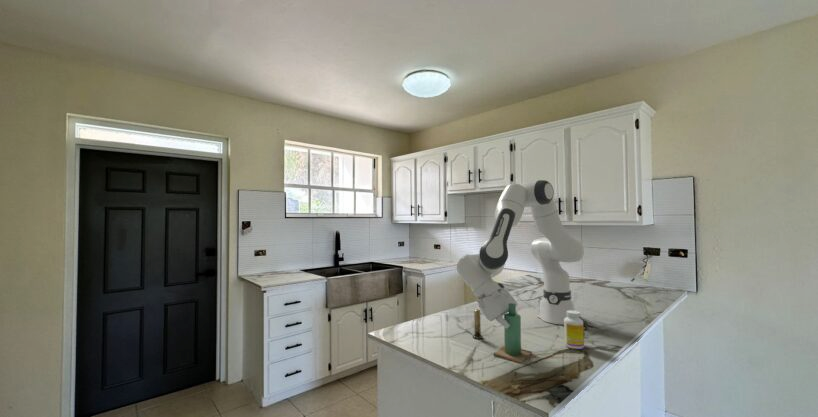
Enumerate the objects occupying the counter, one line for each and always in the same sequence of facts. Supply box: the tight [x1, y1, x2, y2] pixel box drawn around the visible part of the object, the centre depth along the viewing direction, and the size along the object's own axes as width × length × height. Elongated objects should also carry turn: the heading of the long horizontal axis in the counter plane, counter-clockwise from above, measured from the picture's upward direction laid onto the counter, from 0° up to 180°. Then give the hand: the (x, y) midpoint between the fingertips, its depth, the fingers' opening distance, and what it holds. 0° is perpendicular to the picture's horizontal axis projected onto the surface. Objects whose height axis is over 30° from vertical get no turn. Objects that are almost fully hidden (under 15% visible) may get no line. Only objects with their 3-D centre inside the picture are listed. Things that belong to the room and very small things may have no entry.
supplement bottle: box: [563, 310, 585, 350], centre depth 125 cm, size 7×7×13 cm
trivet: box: [493, 345, 533, 364], centre depth 117 cm, size 10×10×1 cm
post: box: [472, 308, 483, 340], centre depth 135 cm, size 4×4×11 cm
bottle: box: [503, 303, 522, 356], centre depth 118 cm, size 6×6×17 cm
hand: (514, 323), depth 117 cm, fingers open, 8 cm apart
